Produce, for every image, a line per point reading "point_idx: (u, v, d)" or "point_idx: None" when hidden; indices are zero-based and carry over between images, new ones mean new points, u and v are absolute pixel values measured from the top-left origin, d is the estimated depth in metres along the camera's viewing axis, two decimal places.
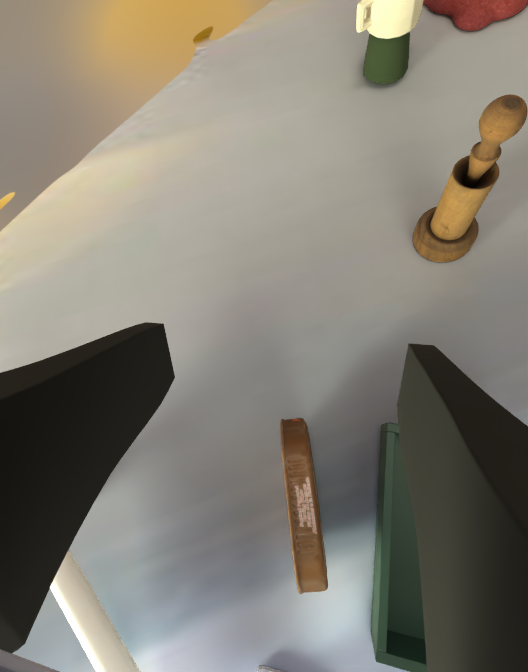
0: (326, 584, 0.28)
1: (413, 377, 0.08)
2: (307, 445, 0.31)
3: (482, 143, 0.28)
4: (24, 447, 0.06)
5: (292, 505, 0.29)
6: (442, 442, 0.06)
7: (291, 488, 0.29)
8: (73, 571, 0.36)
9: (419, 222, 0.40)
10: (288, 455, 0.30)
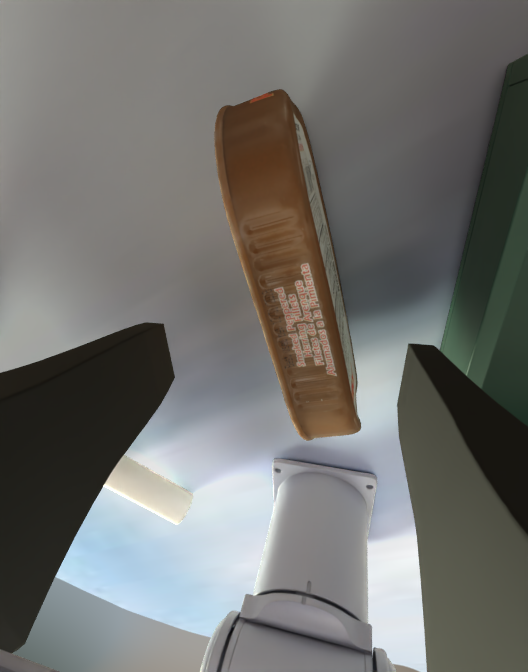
0: (359, 430, 0.15)
1: (413, 377, 0.08)
2: (296, 173, 0.10)
3: None
4: (24, 447, 0.06)
5: (275, 330, 0.12)
6: (442, 442, 0.06)
7: (267, 295, 0.12)
8: None
9: None
10: (245, 214, 0.11)
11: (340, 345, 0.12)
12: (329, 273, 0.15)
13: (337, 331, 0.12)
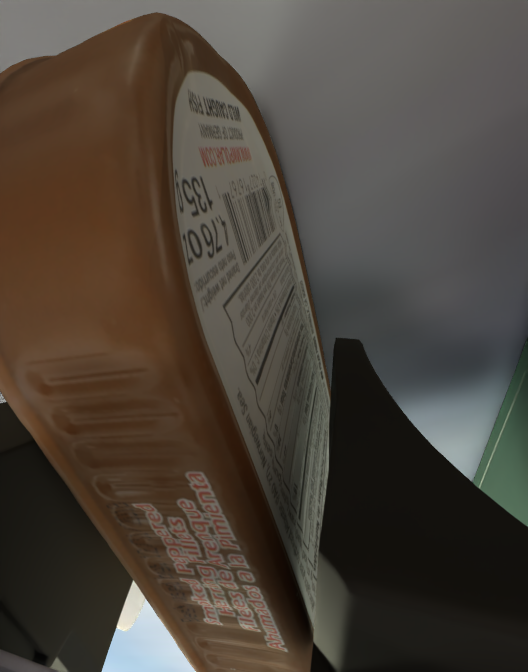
0: None
1: (332, 369, 0.08)
2: (147, 248, 0.03)
3: None
4: None
5: (150, 568, 0.05)
6: None
7: (120, 511, 0.05)
8: None
9: None
10: (23, 347, 0.04)
11: (295, 604, 0.06)
12: (297, 383, 0.08)
13: (287, 584, 0.05)
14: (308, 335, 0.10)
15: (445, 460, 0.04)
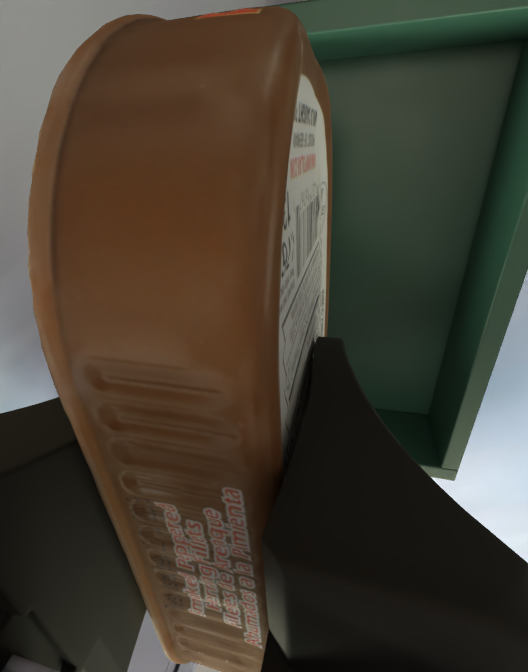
0: None
1: None
2: (255, 278, 0.03)
3: None
4: None
5: (151, 558, 0.06)
6: None
7: (138, 505, 0.05)
8: None
9: None
10: (89, 341, 0.04)
11: None
12: (306, 393, 0.09)
13: None
14: None
15: (406, 454, 0.05)
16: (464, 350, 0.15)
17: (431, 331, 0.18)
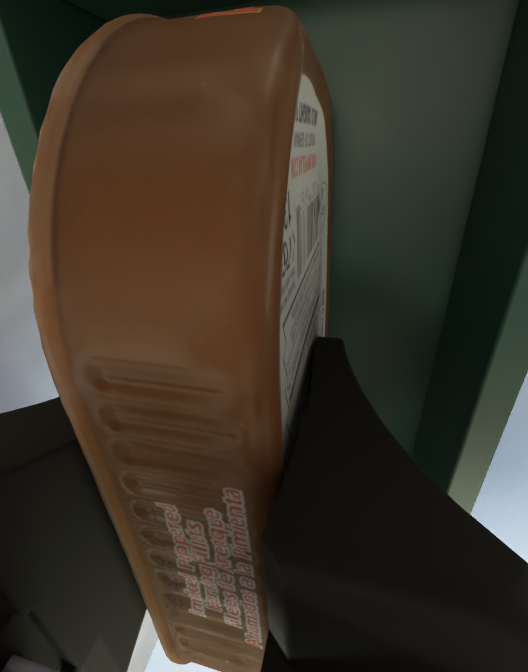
0: None
1: None
2: (256, 278, 0.03)
3: None
4: None
5: (151, 558, 0.06)
6: None
7: (138, 506, 0.05)
8: None
9: None
10: (90, 341, 0.04)
11: None
12: (307, 393, 0.09)
13: None
14: None
15: (406, 454, 0.05)
16: (440, 442, 0.10)
17: (400, 397, 0.13)
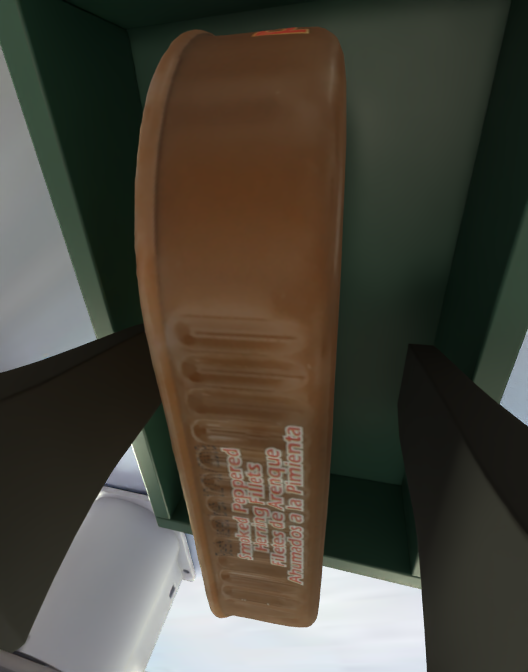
0: None
1: (413, 377, 0.08)
2: (327, 243, 0.04)
3: None
4: (23, 447, 0.06)
5: (209, 505, 0.06)
6: (442, 442, 0.06)
7: (204, 453, 0.06)
8: None
9: None
10: (184, 301, 0.04)
11: (322, 545, 0.07)
12: None
13: (323, 528, 0.06)
14: None
15: None
16: None
17: (399, 388, 0.14)
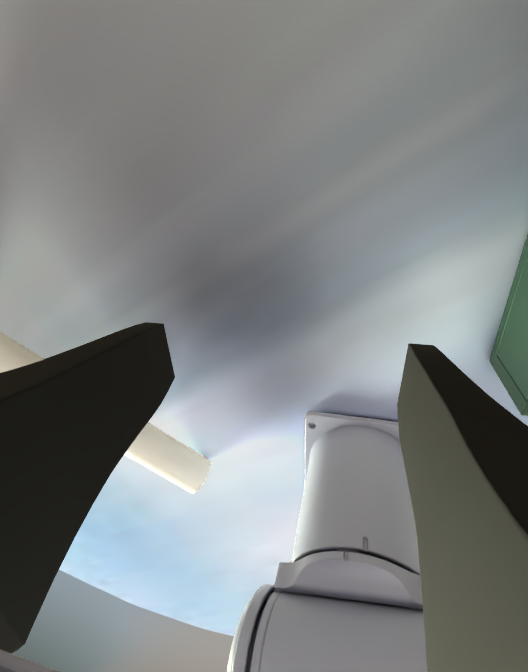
0: None
1: (413, 377, 0.08)
2: None
3: None
4: (23, 447, 0.06)
5: None
6: (442, 442, 0.06)
7: None
8: (8, 353, 0.23)
9: None
10: None
11: None
12: None
13: None
14: None
15: None
16: None
17: None
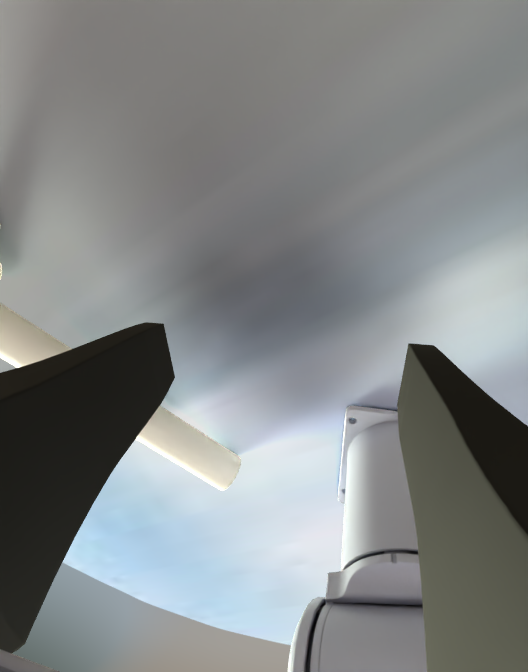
0: None
1: (413, 377, 0.08)
2: None
3: None
4: (23, 447, 0.06)
5: None
6: (442, 442, 0.06)
7: None
8: (35, 342, 0.22)
9: None
10: None
11: None
12: None
13: None
14: None
15: None
16: None
17: None
